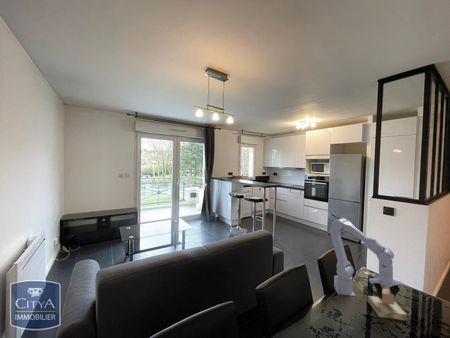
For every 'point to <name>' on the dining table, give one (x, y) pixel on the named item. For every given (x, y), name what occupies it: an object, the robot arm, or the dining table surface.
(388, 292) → the terracotta cube
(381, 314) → the birch base
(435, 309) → the dining table surface
